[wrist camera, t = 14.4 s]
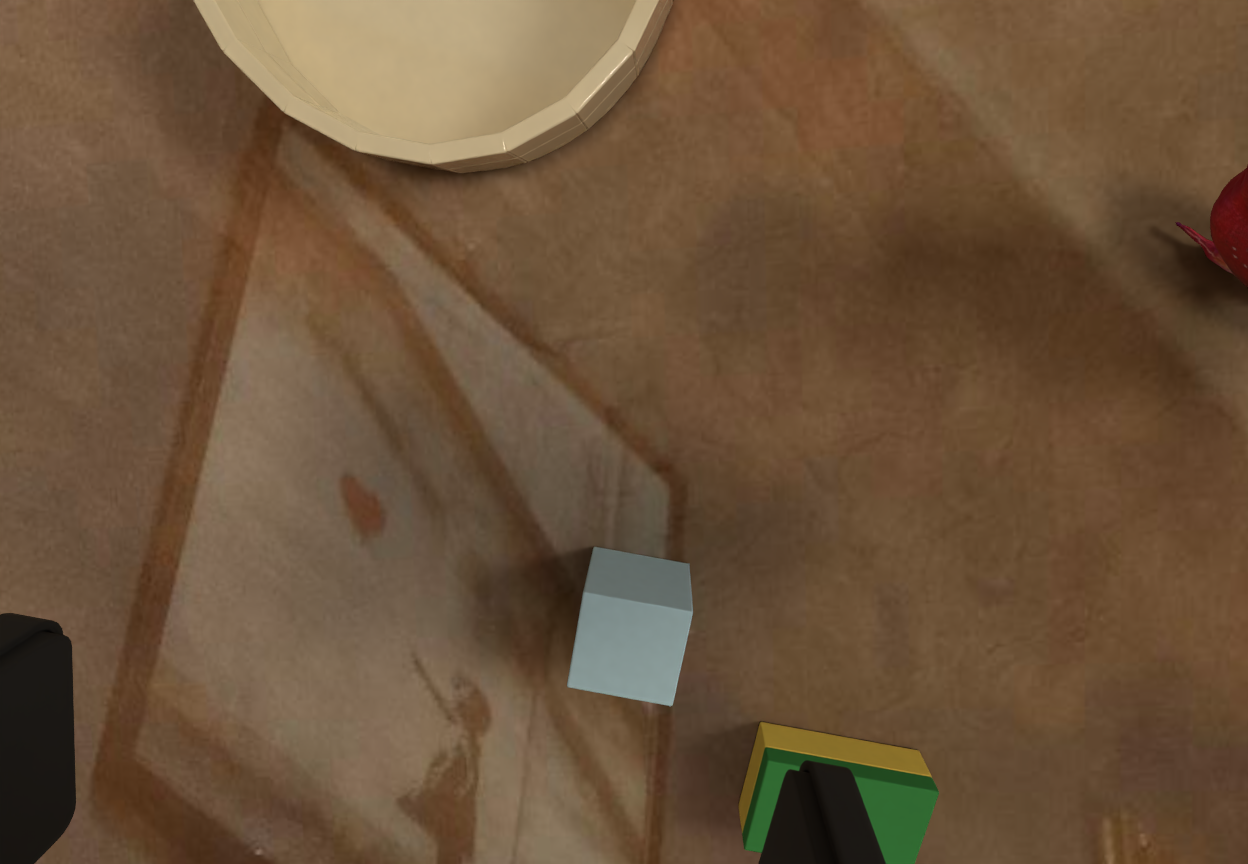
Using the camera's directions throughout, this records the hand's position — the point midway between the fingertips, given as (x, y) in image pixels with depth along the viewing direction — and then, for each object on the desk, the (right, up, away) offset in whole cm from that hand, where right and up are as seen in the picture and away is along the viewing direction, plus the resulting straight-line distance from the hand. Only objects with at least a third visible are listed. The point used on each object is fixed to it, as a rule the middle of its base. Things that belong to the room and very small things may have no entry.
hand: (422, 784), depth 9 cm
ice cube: (+3, -2, +21) cm, 21 cm away
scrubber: (+12, -11, +23) cm, 28 cm away
